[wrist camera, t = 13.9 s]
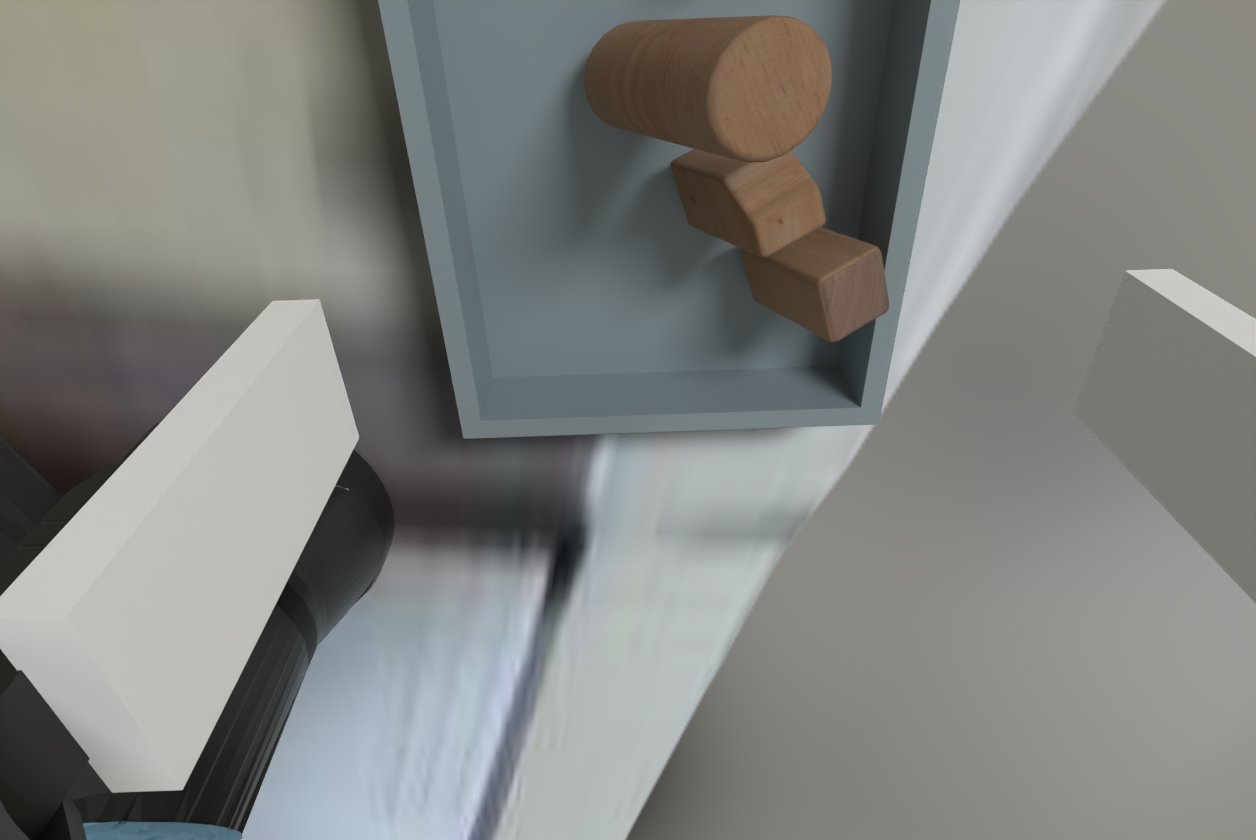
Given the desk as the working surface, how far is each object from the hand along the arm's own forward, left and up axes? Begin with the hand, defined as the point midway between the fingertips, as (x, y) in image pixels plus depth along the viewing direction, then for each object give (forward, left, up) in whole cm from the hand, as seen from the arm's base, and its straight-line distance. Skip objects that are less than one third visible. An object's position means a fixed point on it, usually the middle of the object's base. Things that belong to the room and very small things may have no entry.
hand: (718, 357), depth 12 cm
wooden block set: (+3, 0, -22) cm, 22 cm away
